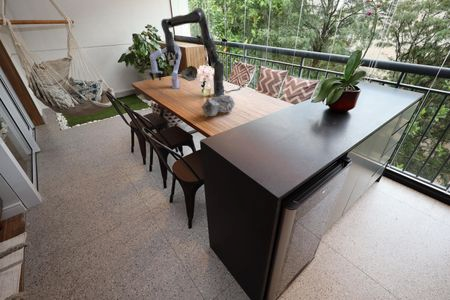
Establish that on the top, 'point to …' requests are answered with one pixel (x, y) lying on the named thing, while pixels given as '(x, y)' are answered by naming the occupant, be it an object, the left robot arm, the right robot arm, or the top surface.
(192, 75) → the bark piece
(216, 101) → the rock
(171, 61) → the block
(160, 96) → the top surface
